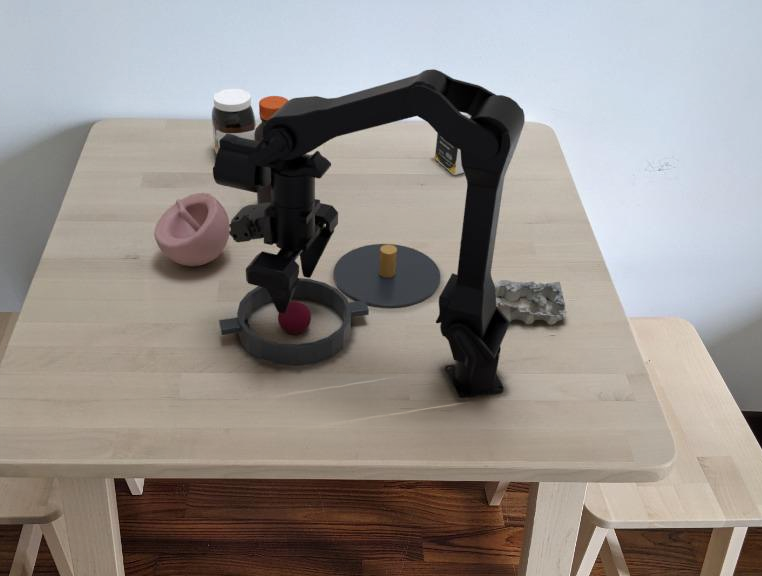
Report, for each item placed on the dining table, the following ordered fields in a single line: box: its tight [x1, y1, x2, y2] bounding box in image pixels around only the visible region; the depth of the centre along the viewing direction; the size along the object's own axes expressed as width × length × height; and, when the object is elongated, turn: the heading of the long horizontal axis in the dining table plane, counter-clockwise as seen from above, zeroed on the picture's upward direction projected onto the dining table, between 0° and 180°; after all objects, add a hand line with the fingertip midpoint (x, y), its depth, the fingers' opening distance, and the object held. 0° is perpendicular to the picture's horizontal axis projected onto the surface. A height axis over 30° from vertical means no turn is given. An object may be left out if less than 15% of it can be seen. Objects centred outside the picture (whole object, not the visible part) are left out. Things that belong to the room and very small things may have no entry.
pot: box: [218, 277, 370, 367], centre depth 133 cm, size 16×22×4 cm
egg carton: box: [494, 279, 567, 325], centre depth 136 cm, size 11×8×4 cm
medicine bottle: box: [434, 112, 471, 176], centre depth 168 cm, size 7×7×12 cm
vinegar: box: [254, 95, 289, 204], centre depth 153 cm, size 7×7×20 cm
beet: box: [277, 300, 312, 335], centre depth 133 cm, size 5×5×5 cm
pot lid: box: [333, 243, 441, 309], centre depth 142 cm, size 17×17×6 cm
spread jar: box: [211, 88, 258, 156], centre depth 171 cm, size 12×11×12 cm
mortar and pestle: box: [153, 192, 230, 267], centre depth 145 cm, size 12×12×12 cm
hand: (294, 294), depth 130 cm, fingers open, 9 cm apart
